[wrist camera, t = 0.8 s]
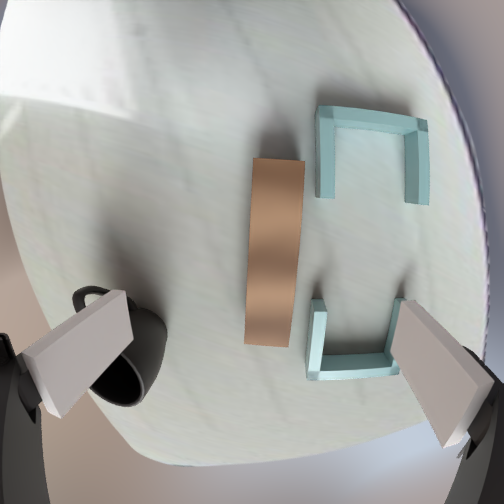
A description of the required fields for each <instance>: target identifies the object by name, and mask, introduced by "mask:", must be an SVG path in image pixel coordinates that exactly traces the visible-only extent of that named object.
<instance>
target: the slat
mask: <svg viewBox="0 0 504 504" xmlns="http://www.w3.org/2000/svg"><path fill="white" fill-rule="evenodd" d="M304 174H305V161H296V160H282V159H265V158H253V175H252V194H251V214H250V233H249V253H248V274H247V294H246V315H245V336H244V344H252V345H263V346H276V347H288V345H289V338H290V330H291V322H292V313H293V305H294V296H295V286H296V277H297V266H298V256H299V245H300V233H301V220H302V206H303V191H304Z"/></svg>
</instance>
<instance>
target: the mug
mask: <svg viewBox="0 0 504 504" xmlns="http://www.w3.org/2000/svg"><path fill="white" fill-rule="evenodd" d="M108 292H110V290H107V289H104V288H101V287H97V286H86V287H83V288H80V289H78V290H77V291H75V292H74V294H73V297H72V300H73V305H74V308H75V311H76V313H78V312H79V311H81V310H82V309H84V308H85V307H86V306H85V301H84V299H85V296H86V295H88V294H97V295H101V296H104V295H105V294H107V293H108ZM126 299H127V305H128V311H129V317H130V323H131V328H132V334H133V340H132V341H131V343H130V344H129V345H128V346H127V347H126V348H125V349H124V350H123V351H122V352H121V353H120V354H119V355H118V357H117V358H116V359H115V360H114V361H113V362H112V363H111V364H110V365H109V366H108V367H107V369H106V370H105V371H104V372H103V373H102V374H101V375H100V376H99V377H98V378H97V380H96V381H95V382H94V383H93V384H92V385H91V386H90V387H89V388H90V389H91V390H92V391H93V392H94V393H95V394H97V395H98V396H99V397H101V398H102V399H104V400H106V401H108V402H109V403H112V404H115V405H118V406H122V407H131V406H135V405H137V404H139V403H140V402H141V401H142V400H143V398H144V397H145V395H146V394H147V392H148V391H149V389H150V387H151V386H152V384H153V382H154V381H155V379H156V377H157V375H158V373H159V370H160V367H161V364H162V360H163V356H164V351H165V345H166V341H167V330H166V327H165V325H164V323H163V321H162V320H161V319H160V318H159V317H158V316H157V315H156V314H155V313H153V312H152V311H150V310H147V309H143V308H137V306H136V304H135V303H134V301H133V300H132V299H130V298H129V297H127V296H126Z"/></svg>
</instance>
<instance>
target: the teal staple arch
mask: <svg viewBox="0 0 504 504" xmlns="http://www.w3.org/2000/svg"><path fill="white" fill-rule="evenodd" d="M334 127H342V128H353V129H363V130H371V131H379V132H387V133H394V134H400V135H404V138H405V202H406V203H413V204H420V205H429V191H430V162H429V139H428V125H427V120H425V119H420V118H415V117H410V116H405V115H400V114H394V113H388V112H381V111H375V110H367V109H359V108H350V107H340V106H327V105H319V106H318V108H317V110H316V113H315V133H316V197H318V198H331V199H335V143H334Z"/></svg>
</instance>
